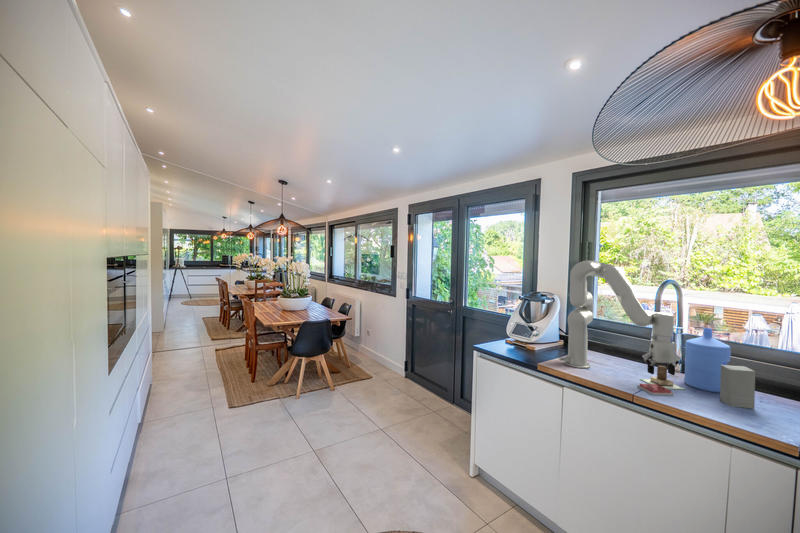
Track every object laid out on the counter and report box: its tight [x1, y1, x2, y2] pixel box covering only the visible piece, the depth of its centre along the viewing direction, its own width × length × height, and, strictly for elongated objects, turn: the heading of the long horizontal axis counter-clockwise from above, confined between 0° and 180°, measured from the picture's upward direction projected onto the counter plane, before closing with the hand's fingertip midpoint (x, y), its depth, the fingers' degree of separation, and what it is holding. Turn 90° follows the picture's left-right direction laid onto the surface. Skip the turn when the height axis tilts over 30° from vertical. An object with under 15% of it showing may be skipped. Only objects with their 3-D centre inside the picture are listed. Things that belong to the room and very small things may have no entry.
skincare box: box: [719, 364, 756, 410], centre depth 131 cm, size 8×7×16 cm
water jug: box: [683, 327, 732, 394], centre depth 151 cm, size 16×16×28 cm
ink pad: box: [637, 383, 674, 397], centre depth 144 cm, size 9×9×2 cm
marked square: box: [639, 378, 686, 391], centre depth 152 cm, size 12×12×1 cm
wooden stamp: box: [650, 365, 674, 386], centre depth 152 cm, size 6×6×8 cm
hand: (660, 373), depth 152 cm, fingers open, 9 cm apart
